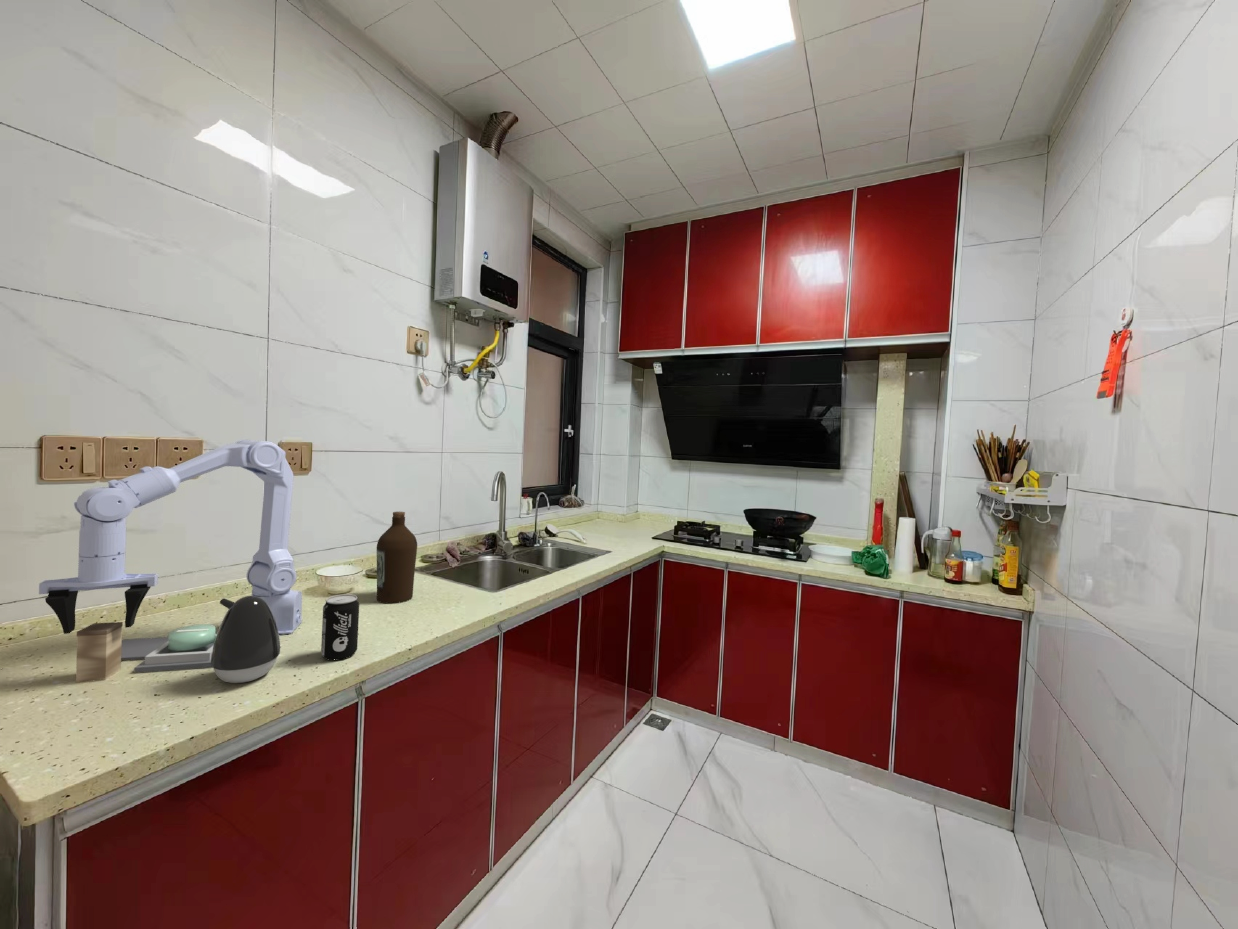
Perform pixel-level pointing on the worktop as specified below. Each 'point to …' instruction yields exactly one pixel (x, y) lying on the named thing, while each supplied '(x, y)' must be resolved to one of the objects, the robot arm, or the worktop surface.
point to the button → (191, 637)
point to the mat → (140, 647)
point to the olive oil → (396, 562)
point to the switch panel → (176, 659)
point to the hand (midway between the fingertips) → (100, 628)
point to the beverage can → (340, 626)
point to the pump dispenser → (245, 641)
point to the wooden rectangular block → (98, 651)
